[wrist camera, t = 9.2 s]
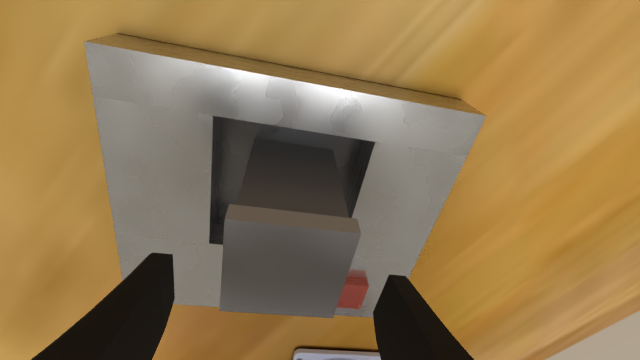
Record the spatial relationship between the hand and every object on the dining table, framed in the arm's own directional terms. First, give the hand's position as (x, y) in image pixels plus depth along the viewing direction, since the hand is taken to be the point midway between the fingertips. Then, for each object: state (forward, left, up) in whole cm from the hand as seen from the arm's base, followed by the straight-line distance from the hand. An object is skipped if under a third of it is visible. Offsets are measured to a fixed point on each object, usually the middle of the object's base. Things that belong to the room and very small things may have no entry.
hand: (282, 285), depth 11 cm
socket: (-1, 0, -8) cm, 8 cm away
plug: (0, 0, -7) cm, 7 cm away
